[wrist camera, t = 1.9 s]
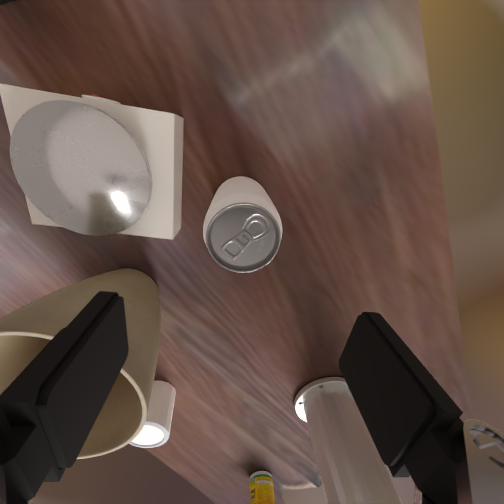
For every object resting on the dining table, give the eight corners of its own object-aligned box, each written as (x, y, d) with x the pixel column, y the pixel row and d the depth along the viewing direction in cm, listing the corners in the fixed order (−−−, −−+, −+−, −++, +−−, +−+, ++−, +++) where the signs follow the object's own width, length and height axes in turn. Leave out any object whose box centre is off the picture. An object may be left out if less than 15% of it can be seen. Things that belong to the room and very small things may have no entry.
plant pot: (197, 260, 31) (164, 361, 17) (172, 340, 37) (130, 468, 22) (76, 224, 28) (-93, 308, 14) (68, 317, 34) (-59, 447, 19)
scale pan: (154, 116, 20) (147, 113, 18) (156, 235, 24) (151, 242, 23) (13, 92, 19) (-9, 87, 17) (42, 222, 23) (27, 228, 22)
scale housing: (183, 113, 24) (174, 107, 20) (180, 227, 29) (172, 239, 25) (31, 86, 22) (-9, 75, 19) (56, 212, 27) (28, 223, 24)
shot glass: (130, 387, 40) (111, 432, 34) (163, 372, 39) (150, 416, 33) (155, 408, 43) (141, 453, 37) (186, 395, 42) (178, 439, 36)
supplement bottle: (270, 481, 57) (275, 542, 48) (248, 481, 56) (250, 543, 48) (273, 469, 55) (280, 531, 46) (251, 470, 54) (253, 532, 46)
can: (278, 204, 29) (304, 240, 18) (240, 238, 30) (242, 291, 19) (241, 163, 26) (244, 176, 15) (202, 202, 28) (180, 239, 17)
